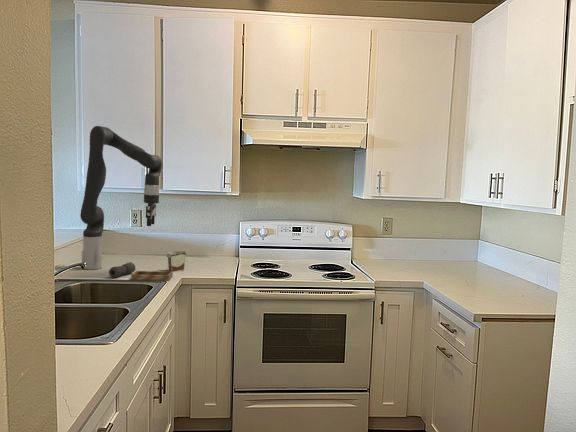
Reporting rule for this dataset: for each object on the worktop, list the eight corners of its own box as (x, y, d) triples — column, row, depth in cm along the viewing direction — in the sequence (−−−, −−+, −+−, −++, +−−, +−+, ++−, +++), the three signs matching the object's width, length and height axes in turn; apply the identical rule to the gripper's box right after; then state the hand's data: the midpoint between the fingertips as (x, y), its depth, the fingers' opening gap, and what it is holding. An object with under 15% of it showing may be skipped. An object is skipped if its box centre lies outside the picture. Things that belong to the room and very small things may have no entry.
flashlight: (117, 268, 228) (108, 265, 230) (115, 279, 229) (106, 276, 231) (136, 263, 243) (127, 260, 245) (135, 273, 244) (126, 270, 245)
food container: (177, 267, 262) (178, 250, 261) (186, 269, 259) (186, 251, 258) (161, 271, 251) (161, 252, 251) (169, 272, 248) (170, 254, 247)
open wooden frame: (131, 280, 228) (131, 274, 228) (136, 275, 238) (136, 270, 238) (169, 280, 229) (169, 275, 229) (172, 276, 239) (172, 271, 239)
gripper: (146, 192, 249) (145, 223, 250) (141, 194, 234) (140, 226, 236) (161, 193, 249) (160, 224, 251) (156, 194, 235) (155, 227, 237)
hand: (150, 225), depth 243 cm, fingers open, 8 cm apart
